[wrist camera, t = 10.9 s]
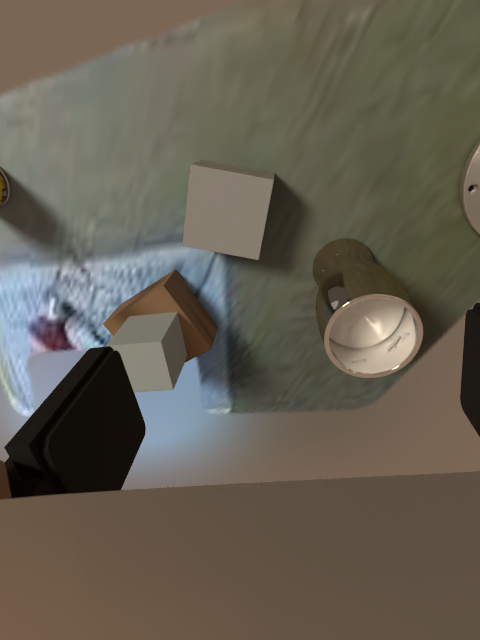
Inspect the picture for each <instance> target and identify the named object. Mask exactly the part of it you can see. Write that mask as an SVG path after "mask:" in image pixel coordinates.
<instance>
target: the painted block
mask: <svg viewBox="0 0 480 640" xmlns="http://www.w3.org/2000/svg"><path fill="white" fill-rule="evenodd" d="M107 346H110V347H112V348H113V349H114V351H115V350H117V351H118V352H119V353H120V355H121V358H122V360H123V363H124V366H125V369H126V372H127V375H128V377H129V380H130V383H131V386H132V389H133V391H134V392H146V391H163V390H173V389H174V387H175V384H176V382H177V379H178V377H179V375H180V372H181V369H182V367H183V365H184V362H185V360H186V358H187V352H186V347H185V343H184V339H183V334H182V330H181V325H180V321H179V316H178V312H171V313H160V314H149V315H138V316H129V317H128V319H127V320H126V321H125V322H124V324H123V325H122V326H121V327H120V329H119V330H118V331H117V332H116V334H115V335H114V336H113V337H112V339H111V340H110V341H109V342H108V344H107V345H106V347H107Z"/></svg>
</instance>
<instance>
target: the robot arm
mask: <svg viewBox="0 0 480 640" xmlns="http://www.w3.org/2000/svg"><path fill="white" fill-rule="evenodd" d="M471 185H472V188H471V190H469V191H468V188H469V187H470V186H471ZM460 202H461V208H462V211H463V214H464V217H465V218H466V220H467V222H468V223H469V225H470V227H471V228H472V229H473V230H474V231H475V232H476V233H477V234H478V235H479V236H480V139H479V141H478V142H477V144H476V145H475V147H474V148H473V150H472V151H471V153H470V155H469V157H468V160H467V162H466V164H465V167H464V170H463V173H462V177H461V183H460ZM464 335H465V336H464V349H463V365H462V380H461V395H460V400H461V405H462V408H463V411H464V413H465V414H466V416H467V417H468V419H469V421H470V422H471V424H472V425H473V427H474V429H475V430H476V432H477V433H478V435H479V436H480V303H476V304H475V305H474V308H473V309H471V310H468V311H467V313H466V319H465V334H464ZM144 436H145V423H144V420H143V417H142V414H141V411H140V408H139V405H138V403H137V400H136V397H135V394H134V391H133V389H132V386H131V383H130V380H129V377H128V375H127V372H126V369H125V366H124V363H123V360H122V358H121V355H120V353H119V352H118V351H117V350H115V351H114V349H113V348H112V347H110V346H107V347H99V348H90V349H89V350H88V351H87V352H86V353H85V354H84V355H83V357H82V358H81V359H80V360H79V361H78V362H77V364H76V365H75V366H74V367H73V368H72V369H71V371H70V372H69V373H68V374H67V375H66V377H65V378H64V379H63V380H62V381H61V382H60V383H59V384H58V386H57V387H56V388H55V389H54V390H53V391H52V393H51V394H50V395H49V396H48V397H47V399H46V400H45V401H44V402H43V403H42V404H41V406H40V407H39V408H38V409H37V410H36V411H35V412H34V414H33V415H32V416H31V417H30V418H29V419H28V421H27V422H26V423H25V424H24V425H23V426H22V428H21V429H20V430H19V431H18V432H17V433H16V435H15V436H14V437H13V438H12V439H11V441H9V443H8V444H7V445H6V446H5V449H6V451H7V453H8V455H9V458H8V459H7V461H6V462H5V463H4V462H3V461H1V460H0V640H480V471H477V472H458V473H457V472H456V473H437V474H436V473H435V474H416V475H415V474H414V475H393V476H372V477H352V478H332V479H314V480H313V479H312V480H294V481H274V482H255V483H238V484H219V485H204V486H203V485H202V486H184V487H167V488H150V489H135V490H121V488H122V486H123V484H124V481H125V479H126V477H127V475H128V472H129V470H130V468H131V466H132V463H133V461H134V458H135V456H136V454H137V452H138V450H139V447H140V445H141V443H142V440H143V438H144Z"/></svg>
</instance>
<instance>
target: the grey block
mask: <svg viewBox="0 0 480 640" xmlns="http://www.w3.org/2000/svg"><path fill="white" fill-rule="evenodd" d="M274 175H275V173H270V172H265V171H259V170H254V169H249V168H243V167H238V166H232V165H227V164H222V163H216V162H211V161H206V160H200V161H197V162H195V163H193V164H191V167H190V176H189V186H188V196H187V206H186V216H185V226H184V236H183V246H186V247H192V248H197V249H202V250H208V251H213V252H218V253H224V254H229V255H234V256H240V257H245V258H250V259H256V260H259V254H260V249H261V244H262V239H263V234H264V228H265V223H266V218H267V213H268V208H269V203H270V197H271V192H272V187H273V182H274Z"/></svg>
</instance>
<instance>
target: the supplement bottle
mask: <svg viewBox="0 0 480 640" xmlns="http://www.w3.org/2000/svg"><path fill="white" fill-rule="evenodd" d="M9 196H10V186H9V182H8V179H7V177H6V175H5V174H4V172H3V171H2V170H1V169H0V207H1V206H3V205H4V204H5V203H6V202H7V201H8V199H9Z"/></svg>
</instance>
